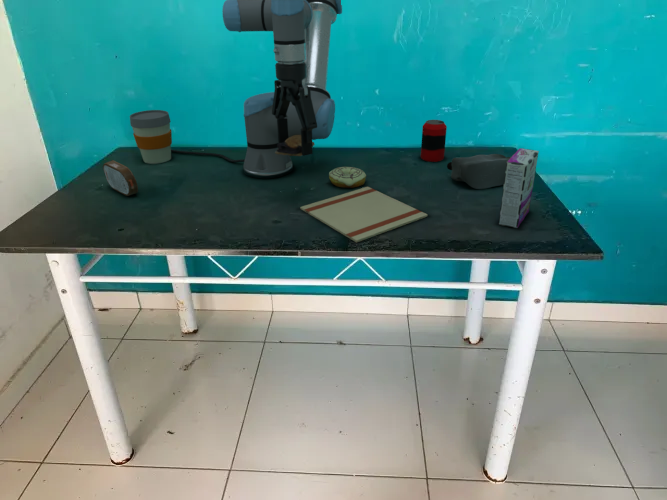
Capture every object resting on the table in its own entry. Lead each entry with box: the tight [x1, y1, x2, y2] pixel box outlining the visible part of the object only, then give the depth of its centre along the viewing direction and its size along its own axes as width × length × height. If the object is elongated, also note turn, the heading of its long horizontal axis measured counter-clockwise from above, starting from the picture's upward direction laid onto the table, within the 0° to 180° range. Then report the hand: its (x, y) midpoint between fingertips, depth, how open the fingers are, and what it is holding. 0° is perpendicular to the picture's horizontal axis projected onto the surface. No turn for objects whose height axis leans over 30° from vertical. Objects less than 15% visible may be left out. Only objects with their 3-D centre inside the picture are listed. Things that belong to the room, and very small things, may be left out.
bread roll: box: [275, 135, 315, 157], centre depth 137 cm, size 11×8×4 cm
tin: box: [102, 159, 139, 197], centre depth 149 cm, size 15×3×8 cm, turn 47°
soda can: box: [420, 119, 448, 163], centre depth 169 cm, size 8×8×12 cm
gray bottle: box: [446, 153, 511, 190], centre depth 151 cm, size 18×11×8 cm, turn 104°
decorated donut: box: [328, 166, 367, 189], centre depth 153 cm, size 10×11×4 cm
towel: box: [299, 186, 428, 244], centre depth 135 cm, size 24×23×1 cm
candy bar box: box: [498, 148, 540, 229], centre depth 127 cm, size 11×5×16 cm, turn 148°
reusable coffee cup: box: [129, 109, 173, 165], centre depth 172 cm, size 13×13×15 cm
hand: (295, 148), depth 137 cm, fingers closed on bread roll, 12 cm apart
